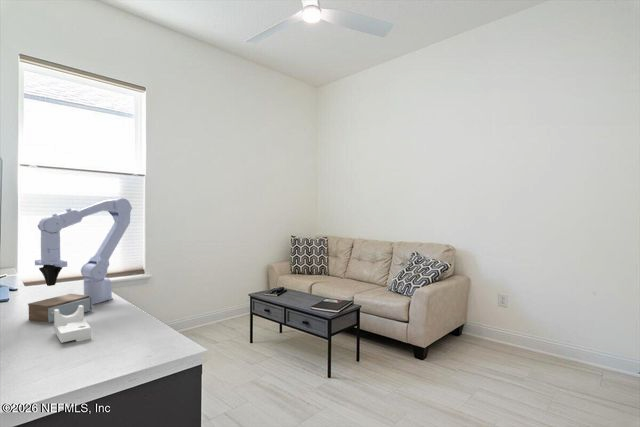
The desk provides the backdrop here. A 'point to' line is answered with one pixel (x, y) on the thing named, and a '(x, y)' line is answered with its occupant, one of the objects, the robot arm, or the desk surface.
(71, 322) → the bracket
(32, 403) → the desk surface
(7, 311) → the desk surface
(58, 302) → the cabinet
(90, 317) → the desk surface
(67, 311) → the door
